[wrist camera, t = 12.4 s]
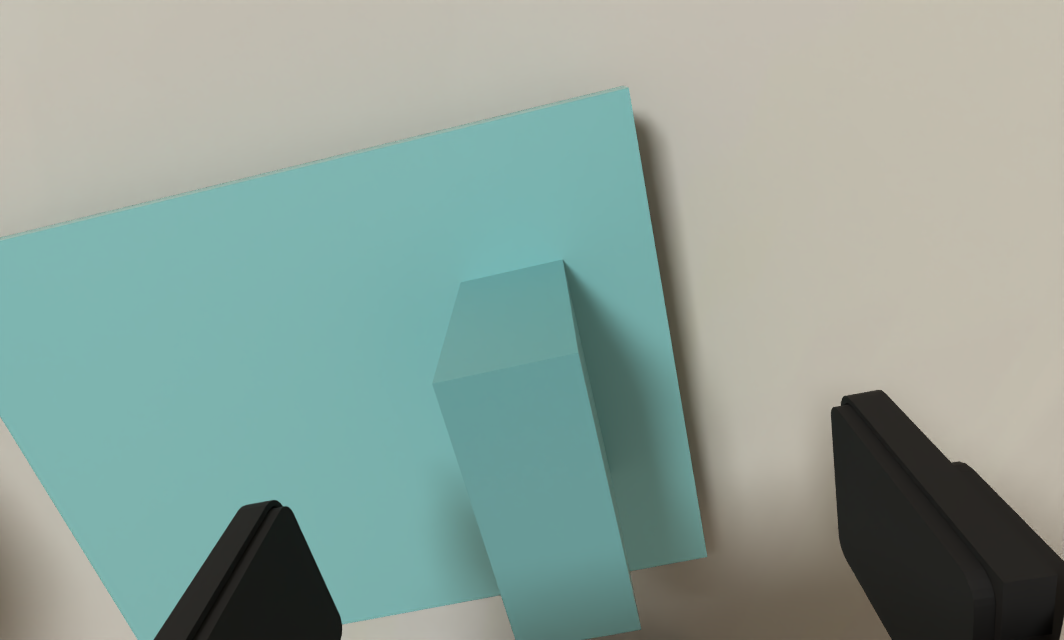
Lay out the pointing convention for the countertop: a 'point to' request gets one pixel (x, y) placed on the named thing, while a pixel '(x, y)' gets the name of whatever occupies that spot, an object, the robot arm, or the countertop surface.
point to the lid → (371, 374)
